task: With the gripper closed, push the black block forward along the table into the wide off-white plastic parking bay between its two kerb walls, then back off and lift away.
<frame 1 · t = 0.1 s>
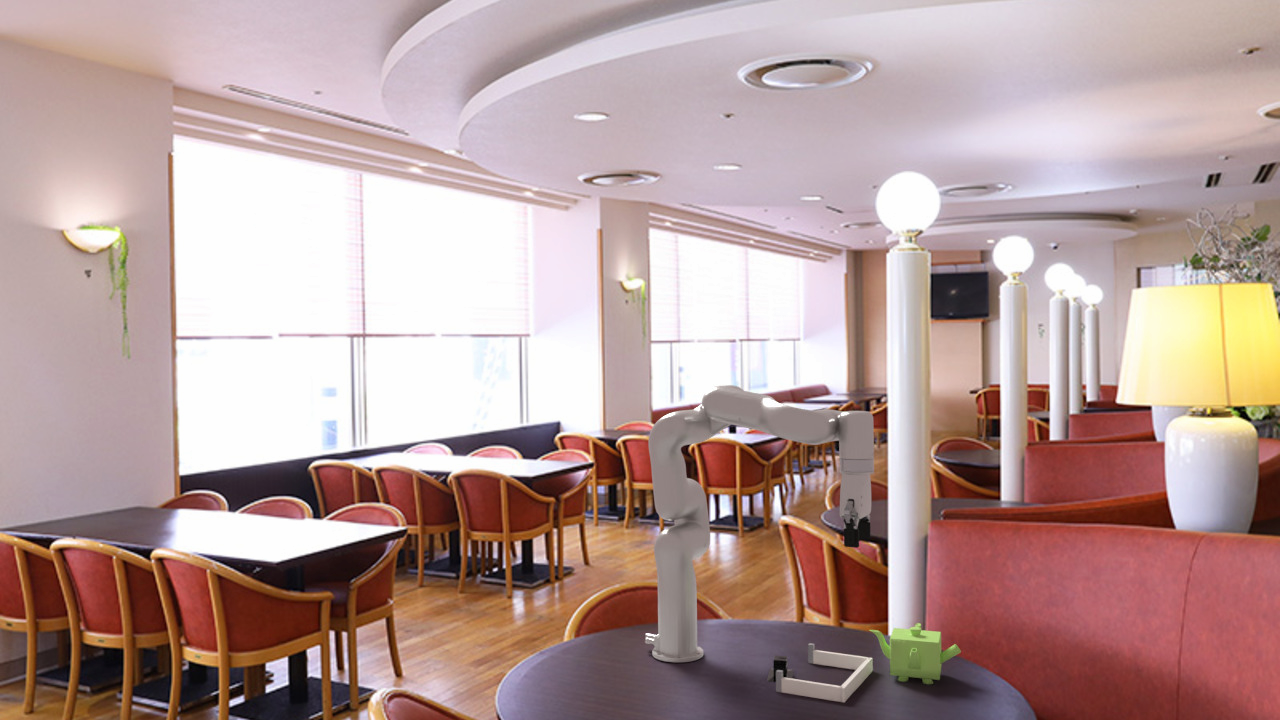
hand: (857, 543, 213), 31 cm above the table, tool pointing down, fingers open, 9 cm apart
kettle: (914, 677, 217), on the table
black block: (780, 678, 219), on the table
bay: (826, 680, 215), on the table
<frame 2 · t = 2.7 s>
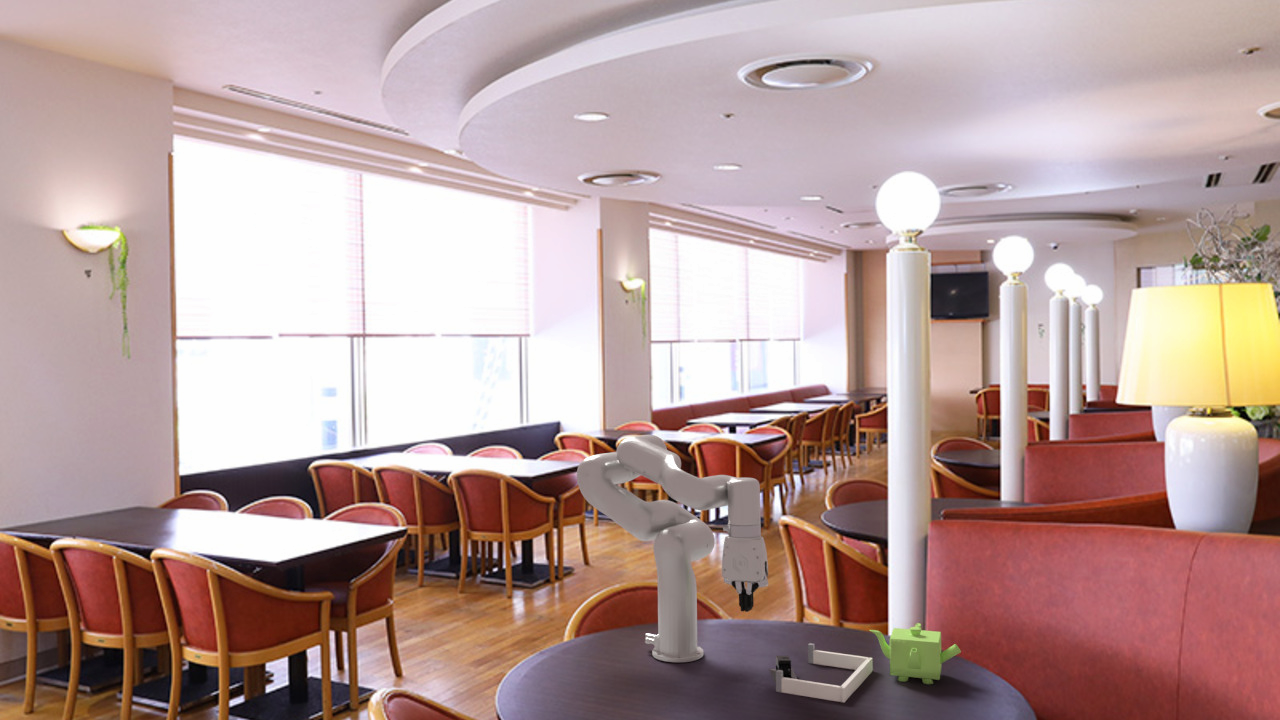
hand: (746, 610, 222), 14 cm above the table, tool pointing down, fingers closed
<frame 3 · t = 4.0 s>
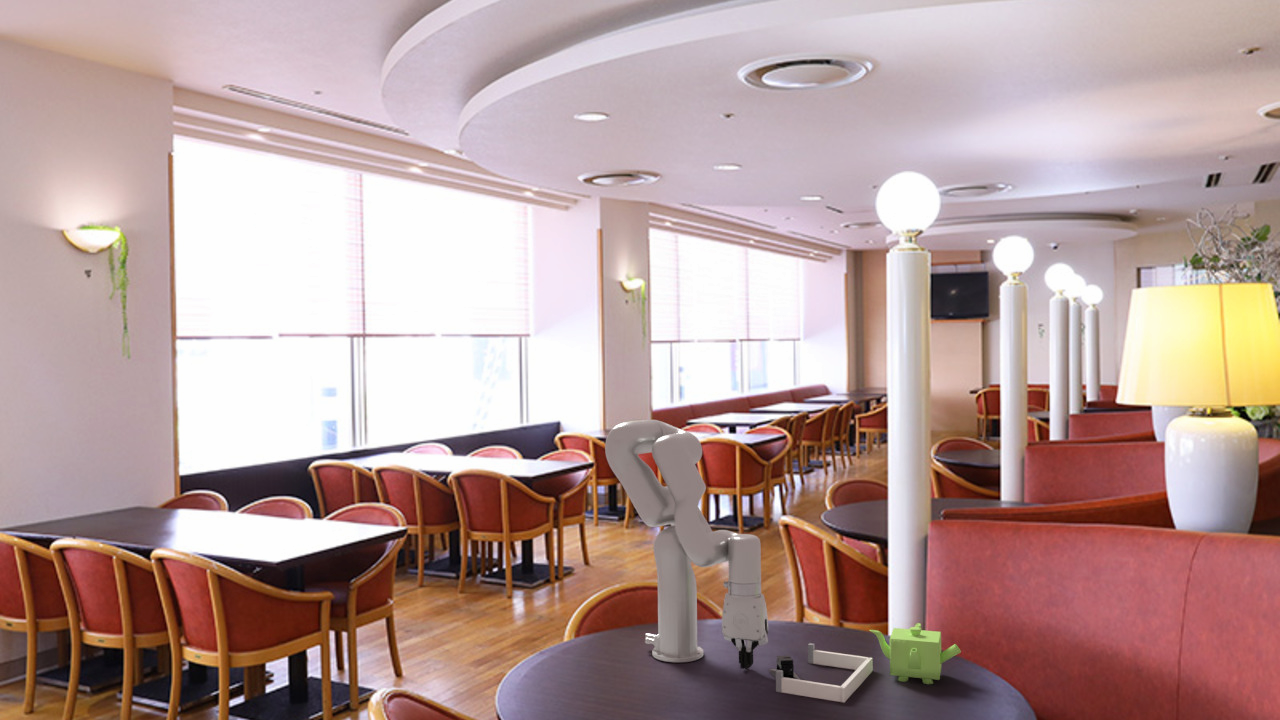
hand: (746, 667, 223), 1 cm above the table, tool pointing down, fingers closed
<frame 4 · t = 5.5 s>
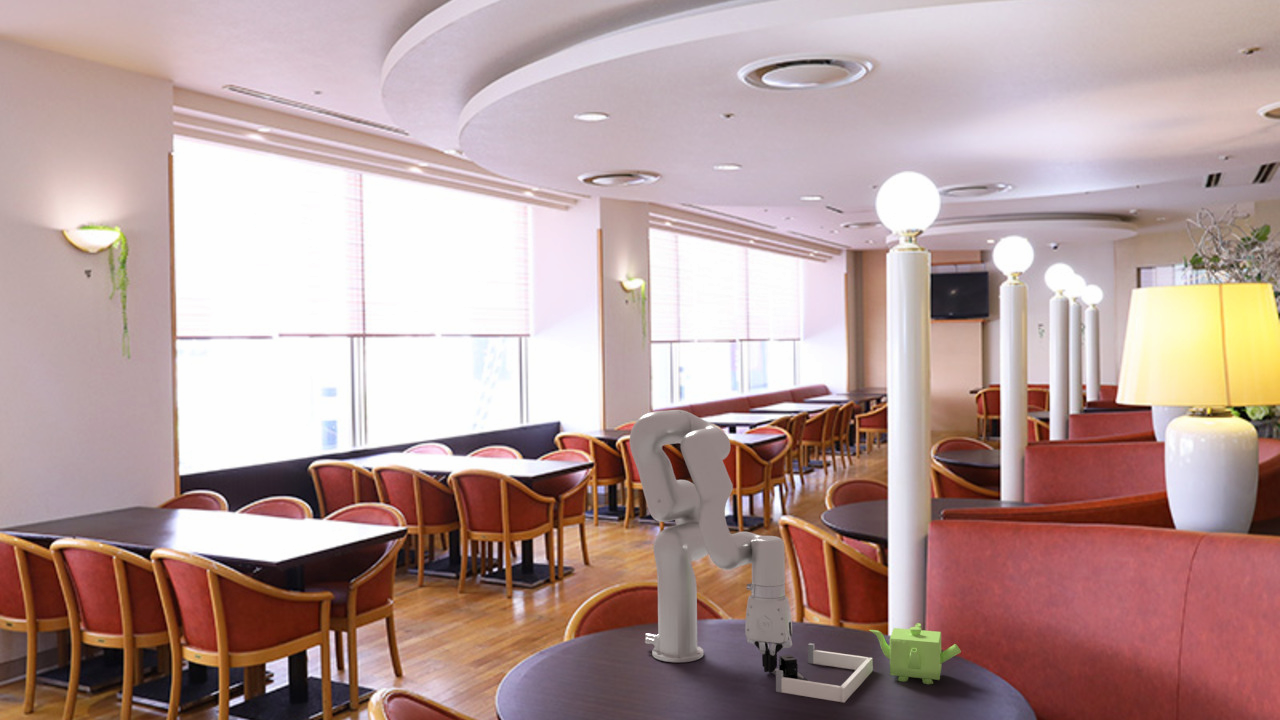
hand: (769, 670, 220), 1 cm above the table, tool pointing down, fingers closed
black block: (788, 678, 219), on the table, touching gripper
everything else where it was.
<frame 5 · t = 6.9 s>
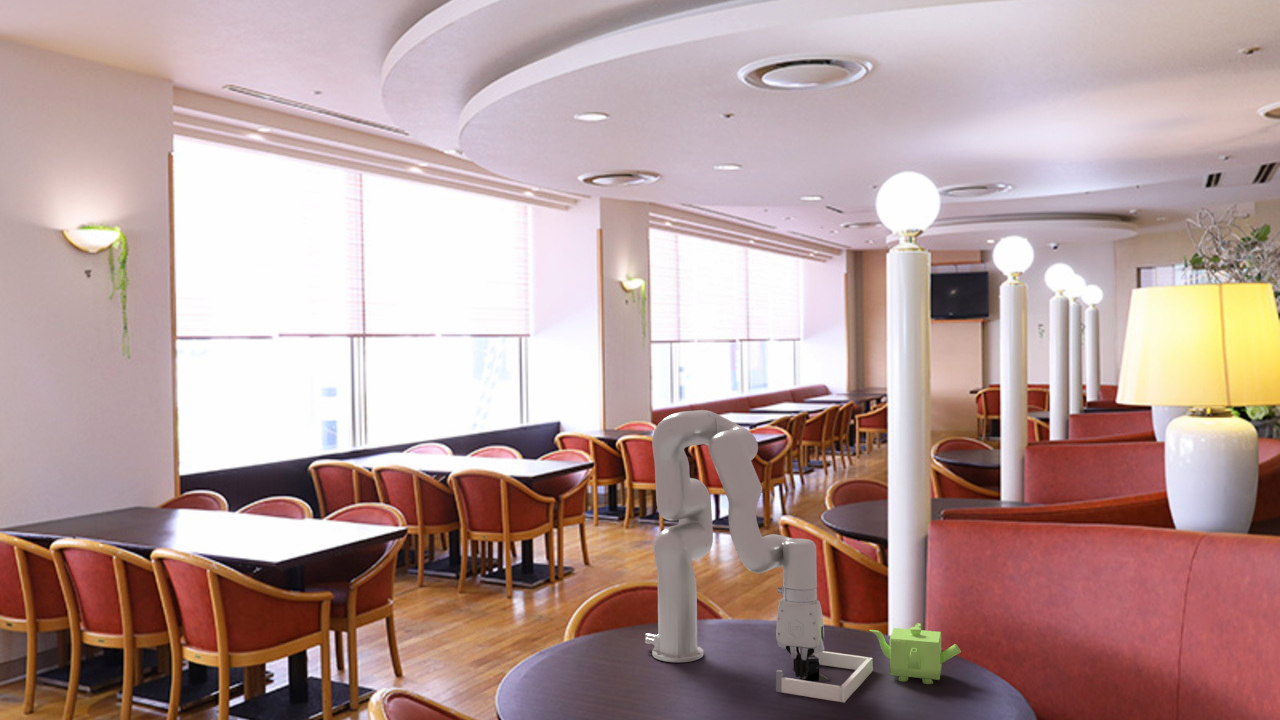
hand: (801, 675, 216), 1 cm above the table, tool pointing down, fingers closed
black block: (810, 677, 219), on the table
everything else where it was.
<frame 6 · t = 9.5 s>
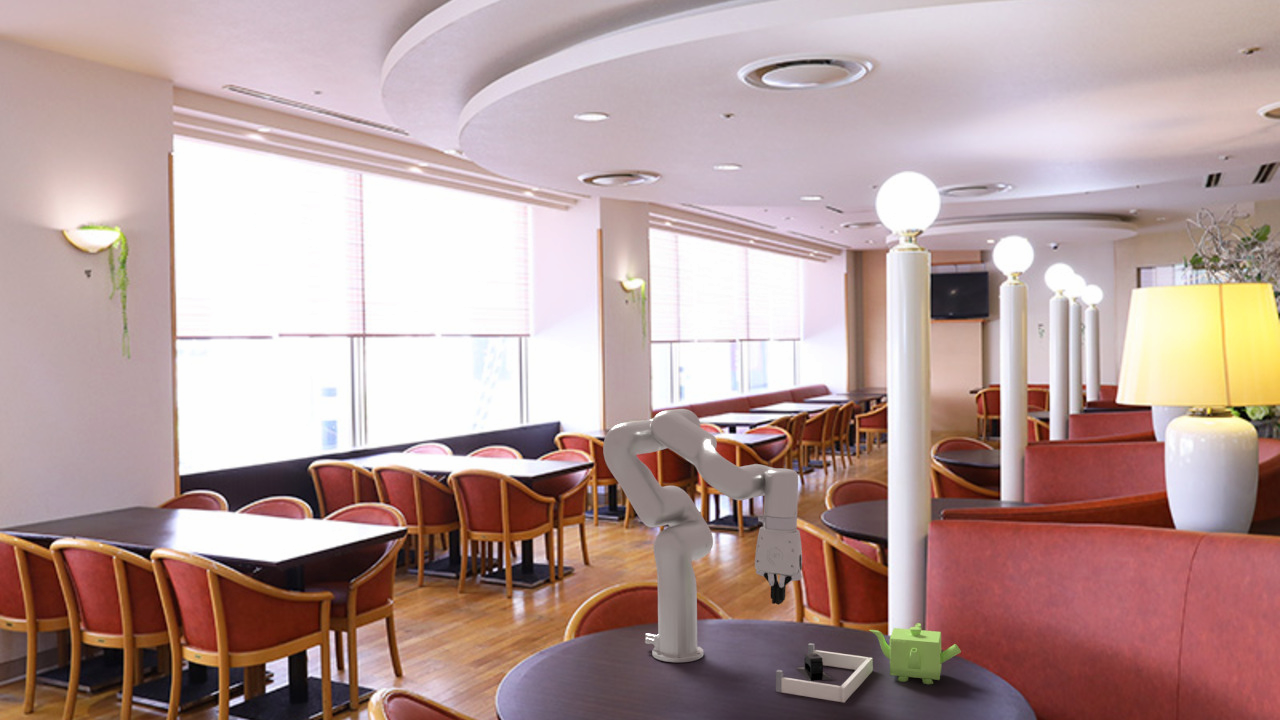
hand: (777, 602, 219), 17 cm above the table, tool pointing down, fingers closed
nothing on the table moved.
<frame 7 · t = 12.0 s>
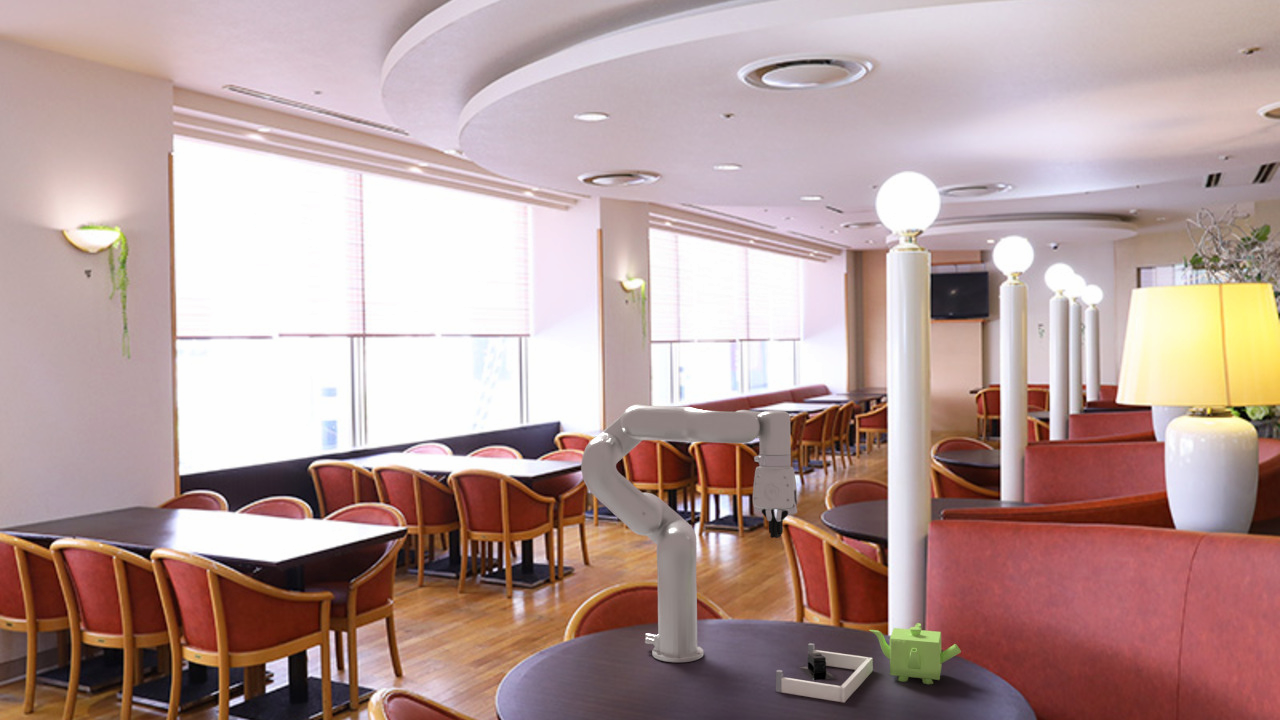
hand: (775, 536, 233), 29 cm above the table, tool pointing down, fingers closed
at the end: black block inside the target area on the bay (6.5 cm from its centre), point -0.8 cm above the bay's base; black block tilted 0°; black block moved 8.9 cm from its start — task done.
